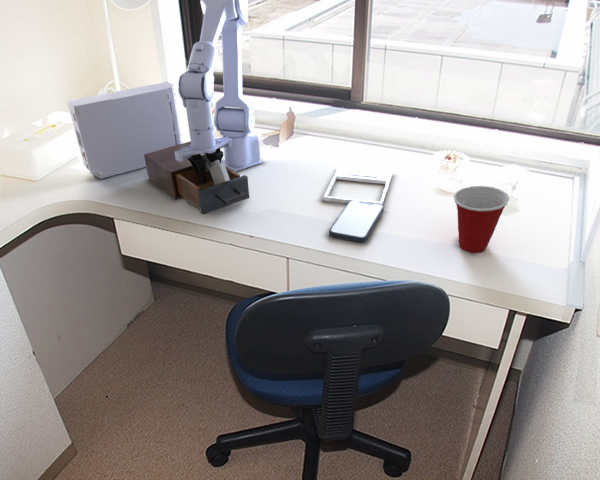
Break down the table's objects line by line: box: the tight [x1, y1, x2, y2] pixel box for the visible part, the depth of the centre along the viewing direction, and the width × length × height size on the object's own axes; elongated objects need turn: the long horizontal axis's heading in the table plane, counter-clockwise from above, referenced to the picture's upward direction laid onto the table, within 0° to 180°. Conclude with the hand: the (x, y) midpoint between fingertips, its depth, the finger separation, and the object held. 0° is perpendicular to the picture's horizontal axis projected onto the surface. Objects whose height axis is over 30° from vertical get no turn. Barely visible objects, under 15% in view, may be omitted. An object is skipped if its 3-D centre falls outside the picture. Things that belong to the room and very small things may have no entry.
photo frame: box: [322, 167, 393, 206], centre depth 142 cm, size 15×1×18 cm
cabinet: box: [144, 140, 221, 200], centre depth 145 cm, size 14×14×7 cm
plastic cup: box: [453, 185, 510, 254], centre depth 116 cm, size 11×11×12 cm
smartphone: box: [328, 200, 385, 244], centre depth 127 cm, size 9×2×16 cm
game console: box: [66, 81, 183, 179], centre depth 150 cm, size 6×27×20 cm, turn 124°
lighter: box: [201, 154, 230, 185], centre depth 133 cm, size 7×2×8 cm, turn 54°
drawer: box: [175, 166, 250, 215], centre depth 135 cm, size 18×13×6 cm
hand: (208, 181), depth 137 cm, fingers closed on lighter, 2 cm apart
